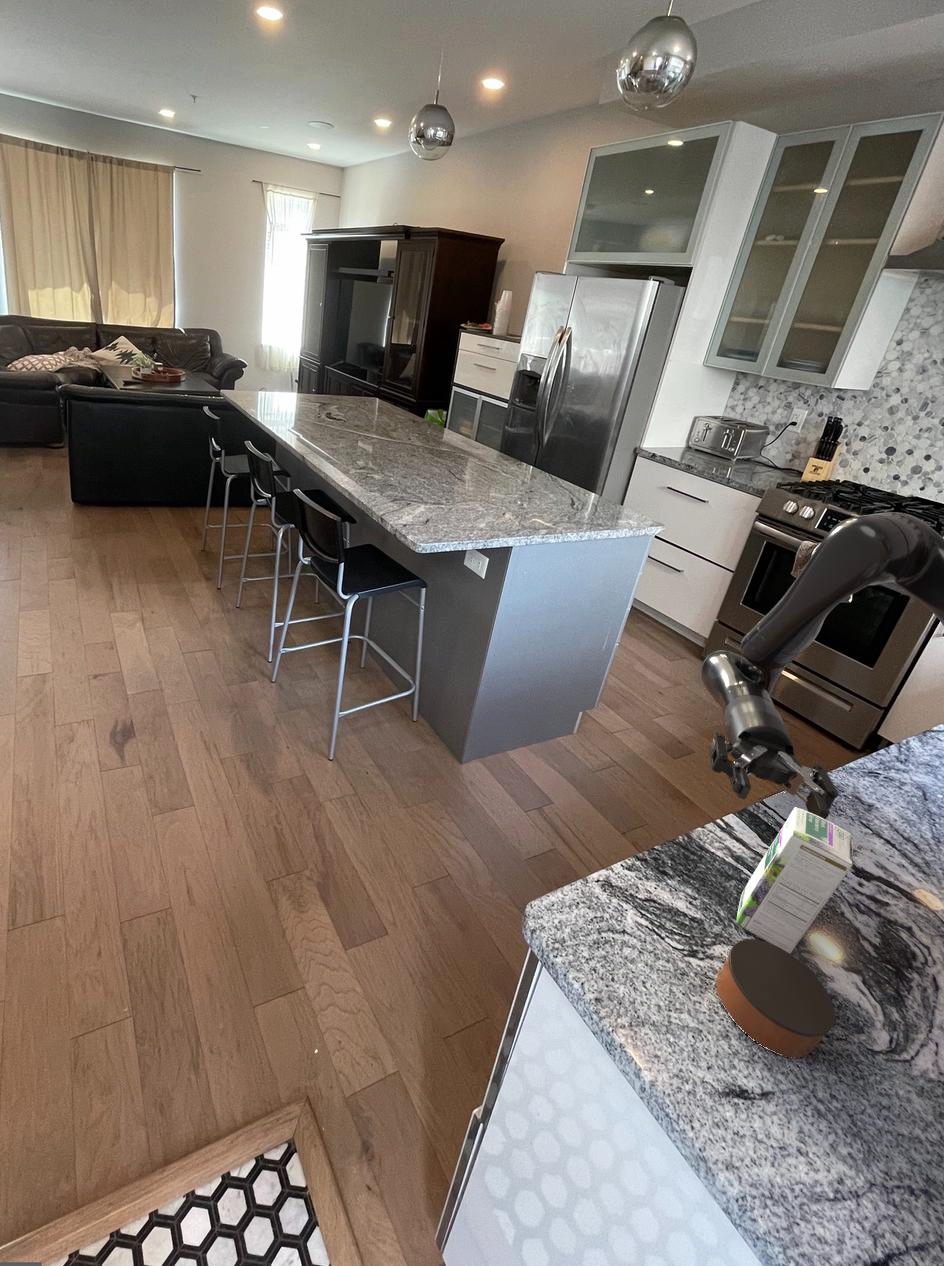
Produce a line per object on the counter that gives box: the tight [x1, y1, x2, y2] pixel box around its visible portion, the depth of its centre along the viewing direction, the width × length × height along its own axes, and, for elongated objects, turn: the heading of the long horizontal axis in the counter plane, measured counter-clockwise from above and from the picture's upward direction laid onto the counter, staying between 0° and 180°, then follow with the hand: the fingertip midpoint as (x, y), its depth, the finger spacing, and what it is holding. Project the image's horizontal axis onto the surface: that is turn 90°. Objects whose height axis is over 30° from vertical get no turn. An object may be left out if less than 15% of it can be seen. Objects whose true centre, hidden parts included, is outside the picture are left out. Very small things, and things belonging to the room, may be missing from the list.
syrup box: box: [735, 806, 854, 955], centre depth 69 cm, size 6×6×14 cm
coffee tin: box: [715, 938, 836, 1059], centre depth 62 cm, size 9×9×4 cm
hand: (782, 806), depth 77 cm, fingers open, 8 cm apart
